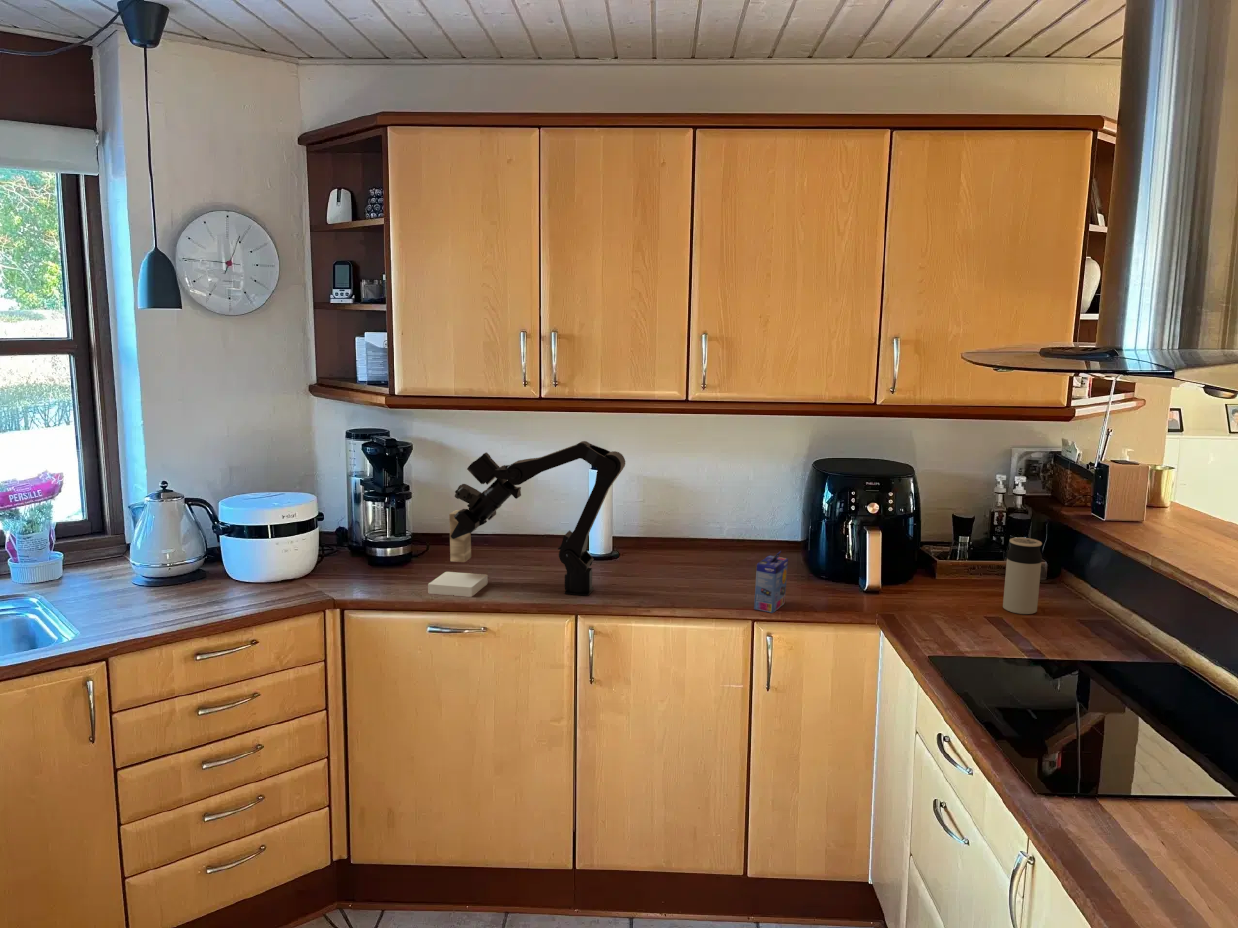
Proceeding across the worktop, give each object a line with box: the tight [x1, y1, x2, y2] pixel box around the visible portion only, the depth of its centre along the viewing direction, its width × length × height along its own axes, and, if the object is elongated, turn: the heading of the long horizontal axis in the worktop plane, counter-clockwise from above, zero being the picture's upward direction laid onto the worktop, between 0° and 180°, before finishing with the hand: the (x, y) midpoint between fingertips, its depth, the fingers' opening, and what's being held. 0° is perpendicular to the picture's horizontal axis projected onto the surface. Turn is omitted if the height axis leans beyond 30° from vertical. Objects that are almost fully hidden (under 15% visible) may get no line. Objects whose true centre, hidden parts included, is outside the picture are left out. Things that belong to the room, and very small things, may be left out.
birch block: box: [448, 509, 472, 563], centre depth 247 cm, size 4×5×13 cm
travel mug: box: [1002, 537, 1043, 615], centre depth 231 cm, size 8×8×18 cm
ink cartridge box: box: [753, 550, 789, 614], centre depth 232 cm, size 10×6×14 cm, turn 152°
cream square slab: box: [427, 571, 489, 598], centre depth 245 cm, size 12×12×3 cm
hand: (455, 535), depth 247 cm, fingers closed on birch block, 5 cm apart
